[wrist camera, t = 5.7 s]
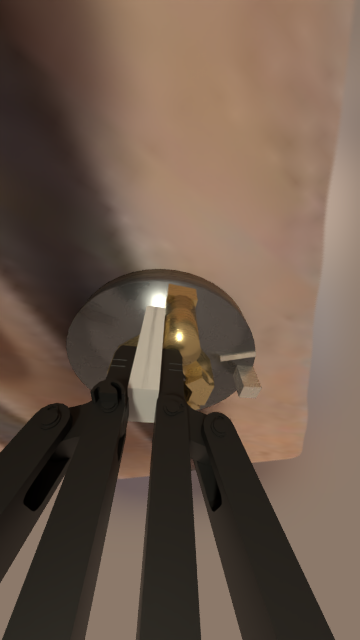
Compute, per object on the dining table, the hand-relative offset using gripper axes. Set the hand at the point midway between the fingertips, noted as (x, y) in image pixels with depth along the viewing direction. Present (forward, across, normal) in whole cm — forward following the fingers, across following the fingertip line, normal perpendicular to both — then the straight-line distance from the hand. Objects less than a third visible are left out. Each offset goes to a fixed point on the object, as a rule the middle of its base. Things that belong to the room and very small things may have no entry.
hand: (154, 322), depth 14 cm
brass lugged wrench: (+4, +1, -7) cm, 8 cm away
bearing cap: (+7, +1, -10) cm, 12 cm away
